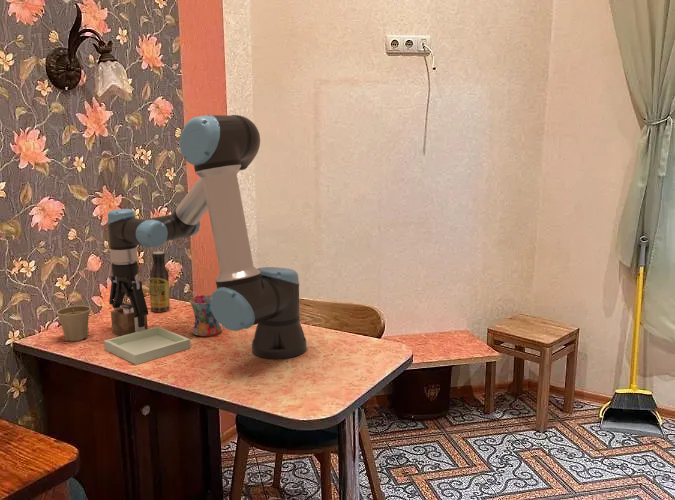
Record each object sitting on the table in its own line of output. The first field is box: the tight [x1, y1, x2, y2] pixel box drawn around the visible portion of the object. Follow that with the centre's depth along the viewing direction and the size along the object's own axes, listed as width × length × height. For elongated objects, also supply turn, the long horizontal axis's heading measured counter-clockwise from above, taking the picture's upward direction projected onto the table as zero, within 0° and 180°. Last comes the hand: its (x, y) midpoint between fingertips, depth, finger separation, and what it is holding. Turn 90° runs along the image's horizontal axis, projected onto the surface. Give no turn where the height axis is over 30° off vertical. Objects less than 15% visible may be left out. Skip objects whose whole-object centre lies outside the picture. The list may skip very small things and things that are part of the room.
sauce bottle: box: [149, 250, 171, 313], centre depth 221 cm, size 7×6×20 cm
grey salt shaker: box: [121, 301, 134, 314], centre depth 199 cm, size 4×4×9 cm
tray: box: [103, 326, 192, 366], centre depth 186 cm, size 17×17×3 cm
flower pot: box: [56, 305, 92, 342], centre depth 195 cm, size 9×9×9 cm
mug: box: [188, 294, 222, 337], centre depth 199 cm, size 12×9×11 cm
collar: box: [110, 308, 149, 337], centre depth 199 cm, size 8×8×7 cm
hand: (130, 332), depth 200 cm, fingers open, 11 cm apart
